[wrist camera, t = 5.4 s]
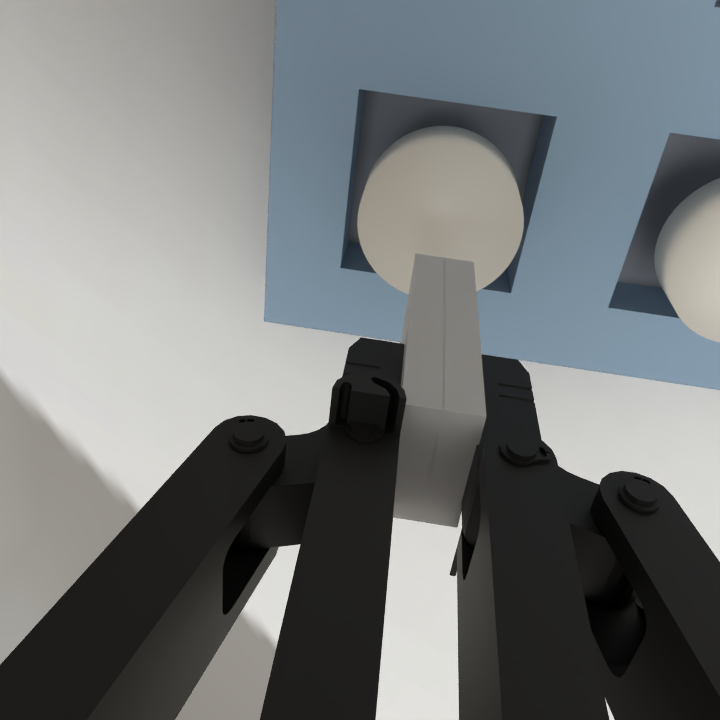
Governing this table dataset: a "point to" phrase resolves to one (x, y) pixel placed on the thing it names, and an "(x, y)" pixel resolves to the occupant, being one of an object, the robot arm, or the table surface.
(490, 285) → the button board
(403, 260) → the button
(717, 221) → the button
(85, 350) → the table surface
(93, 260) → the table surface
